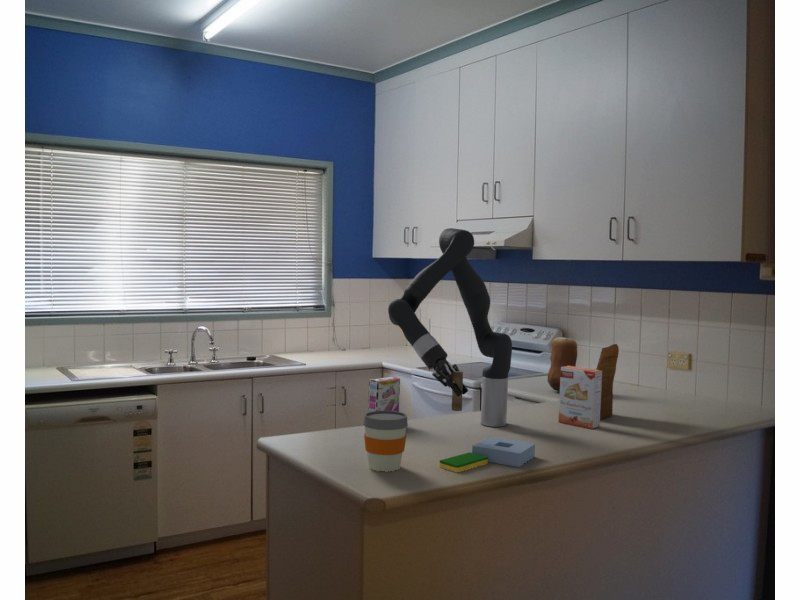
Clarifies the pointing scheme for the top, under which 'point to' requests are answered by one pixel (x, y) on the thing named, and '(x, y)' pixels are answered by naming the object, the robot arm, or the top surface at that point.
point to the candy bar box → (384, 394)
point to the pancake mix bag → (607, 378)
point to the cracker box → (580, 396)
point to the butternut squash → (561, 359)
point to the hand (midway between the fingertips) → (463, 393)
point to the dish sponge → (463, 462)
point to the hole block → (505, 451)
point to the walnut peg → (455, 399)
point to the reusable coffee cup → (385, 439)
